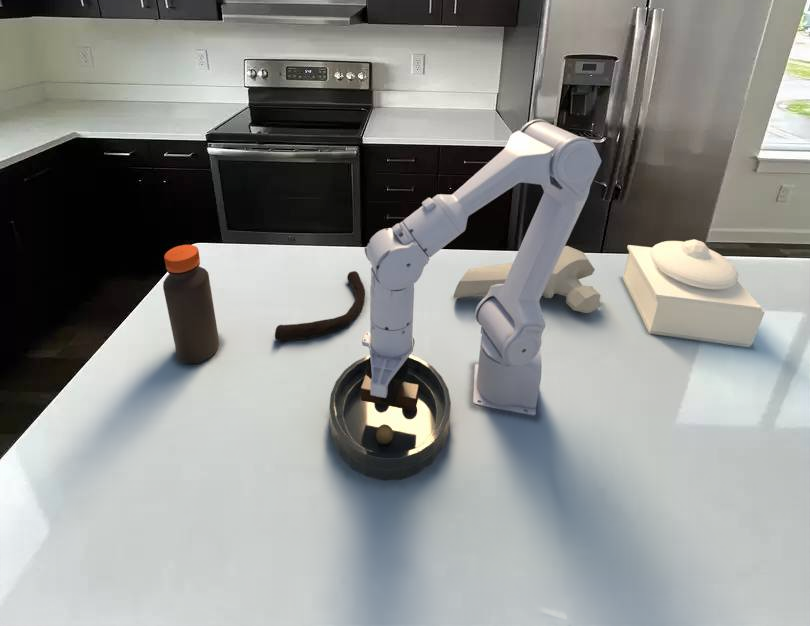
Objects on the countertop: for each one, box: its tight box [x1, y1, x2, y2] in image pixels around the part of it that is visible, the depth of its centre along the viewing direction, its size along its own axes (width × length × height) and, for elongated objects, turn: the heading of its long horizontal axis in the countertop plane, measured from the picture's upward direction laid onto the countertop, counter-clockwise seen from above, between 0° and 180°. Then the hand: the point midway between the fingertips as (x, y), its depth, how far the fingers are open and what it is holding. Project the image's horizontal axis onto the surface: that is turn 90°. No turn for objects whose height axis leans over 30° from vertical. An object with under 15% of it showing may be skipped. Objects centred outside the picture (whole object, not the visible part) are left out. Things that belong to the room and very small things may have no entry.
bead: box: [376, 424, 393, 445], centre depth 60 cm, size 2×2×2 cm
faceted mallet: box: [453, 245, 601, 314], centre depth 89 cm, size 30×14×11 cm, turn 88°
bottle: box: [162, 244, 220, 365], centre depth 72 cm, size 7×7×20 cm
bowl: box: [328, 354, 452, 481], centre depth 63 cm, size 17×17×4 cm
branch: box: [274, 270, 366, 343], centre depth 84 cm, size 23×10×3 cm, turn 147°
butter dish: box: [622, 239, 765, 348], centre depth 86 cm, size 18×18×16 cm
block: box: [361, 375, 419, 411], centre depth 62 cm, size 8×2×2 cm, turn 79°
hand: (390, 391), depth 61 cm, fingers closed on block, 2 cm apart
